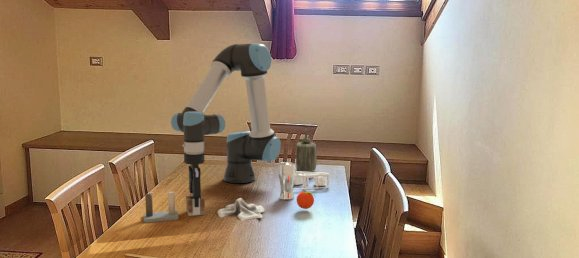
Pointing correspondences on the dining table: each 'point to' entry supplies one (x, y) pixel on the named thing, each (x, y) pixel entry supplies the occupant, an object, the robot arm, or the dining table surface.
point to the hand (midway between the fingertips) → (195, 212)
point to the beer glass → (286, 180)
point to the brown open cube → (190, 206)
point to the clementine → (305, 199)
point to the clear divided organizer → (318, 177)
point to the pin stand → (162, 215)
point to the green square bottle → (306, 155)
